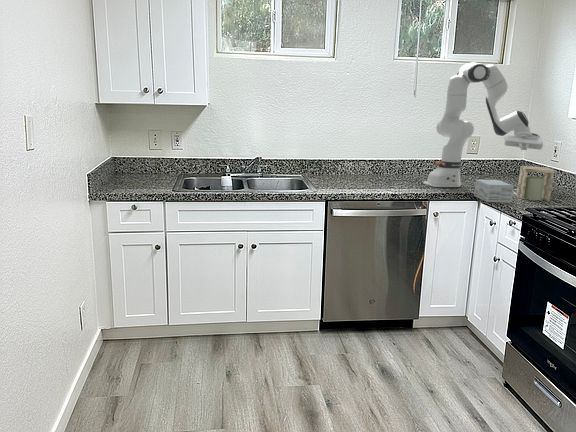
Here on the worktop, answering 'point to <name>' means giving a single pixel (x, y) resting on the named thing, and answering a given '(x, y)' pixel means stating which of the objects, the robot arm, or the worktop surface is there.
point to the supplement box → (493, 191)
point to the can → (534, 188)
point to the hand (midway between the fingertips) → (523, 148)
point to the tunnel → (523, 177)
